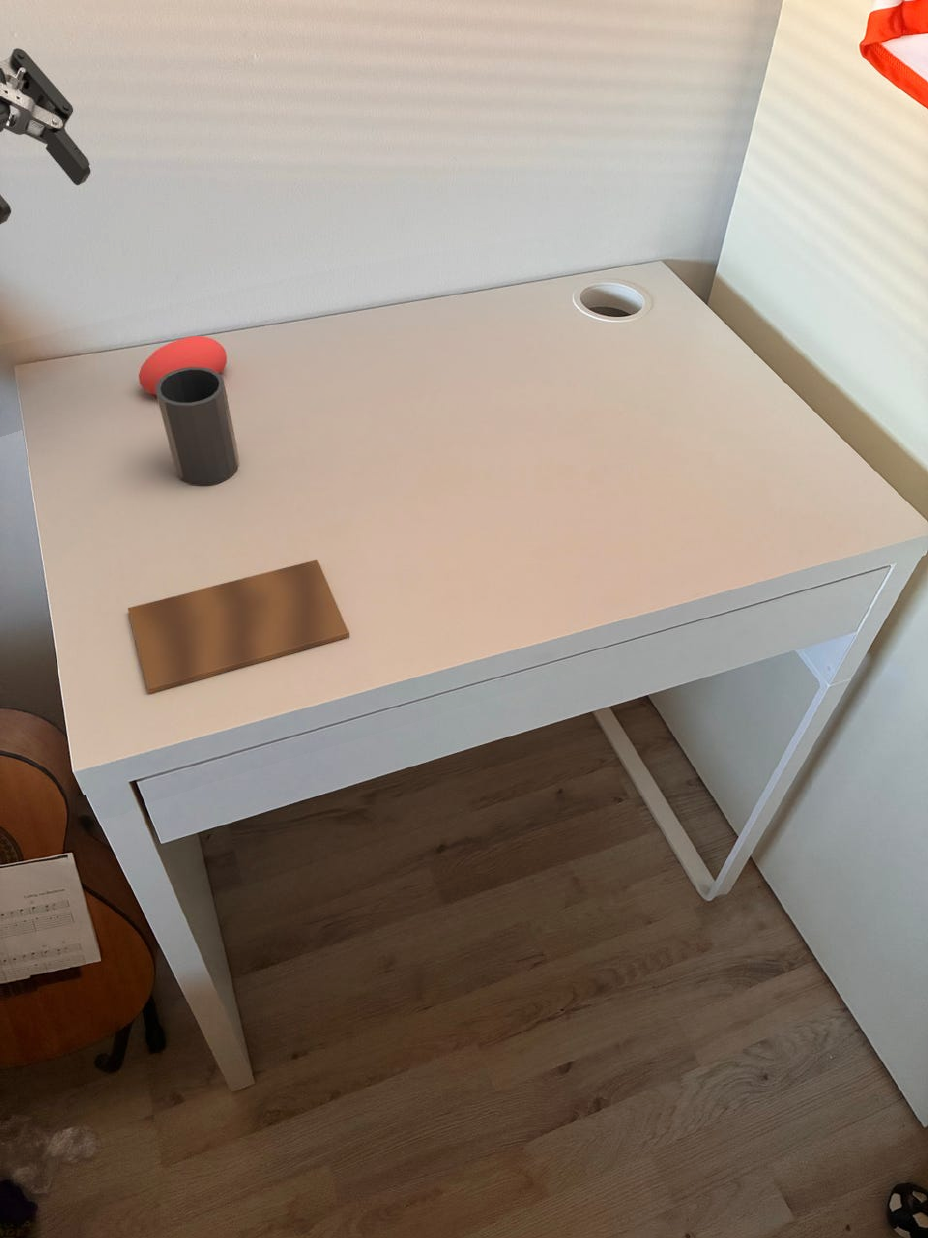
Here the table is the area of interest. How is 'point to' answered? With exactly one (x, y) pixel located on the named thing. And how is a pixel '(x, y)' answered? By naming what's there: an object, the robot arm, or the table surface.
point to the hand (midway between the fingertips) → (46, 197)
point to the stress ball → (182, 359)
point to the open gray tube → (198, 425)
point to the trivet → (235, 625)
